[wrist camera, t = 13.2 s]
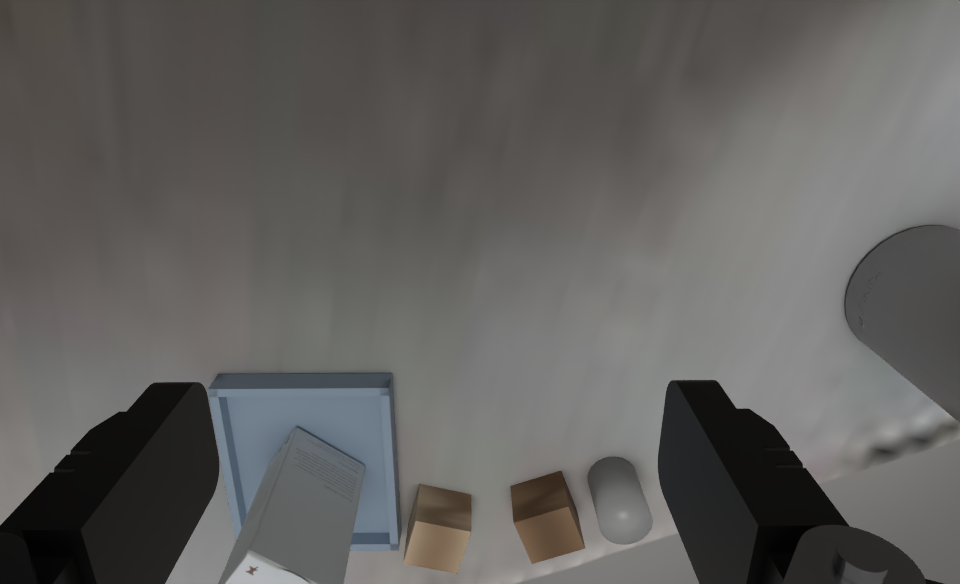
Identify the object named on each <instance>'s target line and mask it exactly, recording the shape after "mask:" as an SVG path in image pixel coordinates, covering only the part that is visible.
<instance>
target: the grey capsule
mask: <svg viewBox="0 0 960 584" xmlns="http://www.w3.org/2000/svg"><path fill="white" fill-rule="evenodd" d="M588 484H589V488H590V491H591V495H592V499H593V503H594V507H595V511H596V515H597V519H598V523H599V527H600V530H601V533H602V535H603V536H604V537H605V538H606V539H607V540H609V541H611V542H613V543H616V544H632V543H635V542H637V541H639V540H641V539H643V538H644V537H645V536H646V535H647V534H648V533H649V532H650V530H651V528H652V524H653V520H652V516H651V513H650V510H649V507H648V505H647V502H646V499H645V496H644V494H643V491H642V488H641V485H640V483H639V480H638V477H637V475H636V472H635V469H634V467H633V465H632V464H631V463H630V462H629V461H627V460H626V459H623V458H620V457H607V458H604V459H601V460H599V461H598V462H596V463H595V464H594V465H593V466H592V467H591V469H590V470H589V473H588Z"/></svg>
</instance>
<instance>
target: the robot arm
mask: <svg viewBox="0 0 960 584" xmlns="http://www.w3.org/2000/svg"><path fill="white" fill-rule="evenodd" d="M845 309H846V317H847V320H848V323H849V325H850V328H851V330H852V331H853V333H854V334H855V335H856V336H857V338H858V339H859V340H860V341H862V342H863V343H864V344H865V345H866V346H868V347H869V348H870V349H871V350H873V351H874V352H875V353H876V354H877V355H879V356H880V357H881V358H882V359H883V360H885V361H886V362H887V363H888V364H889V365H891V366H892V367H893V368H894V369H895V370H896V371H898V372H899V373H900V374H901V375H902V376H904V377H905V378H906V379H907V380H909V381H910V382H911V383H912V384H913V385H915V386H916V387H917V388H918V389H919V390H921V391H922V392H923V393H924V394H926V395H927V396H928V397H929V398H930V399H932V400H933V401H934V402H935V403H937V404H938V405H939V406H940V407H941V408H943V409H944V410H945V411H946V412H948V413H949V414H950V415H951V416H952V417H954V418H955V419H956V420H957V421H959V422H960V230H958V229H955V228H950V227H946V226H922V227H917V228H912V229H909V230H907V231H904V232H901V233H899V234H896V235H895V236H893V237H891V238H889V239H888V240H886V241H884V242H883V243H881V244H880V245H879V246H878V247H877V248H875V249H874V250H873V251H872V252H871V253H869V255H868V256H867V257H866V258H865V259H864V260H863V262H862V263H861V264H860V265H859V267H858V268H857V270H856V272H855V273H854V275H853V277H852V279H851V281H850V284H849V287H848V290H847V294H846V302H845ZM658 473H659V480H660V485H661V489H662V492H663V495H664V498H665V500H666V502H667V505H668V507H669V510H670V512H671V515H672V517H673V520H674V522H675V525H676V527H677V529H678V532H679V534H680V537H681V539H682V542H683V544H684V547H685V549H686V552H687V554H688V557H689V559H690V561H691V564H692V566H693V569H694V571H695V574H696V576H697V578H698V581H699V584H943V583H939V582H935V581H931V580H927V579H925V578H924V576H923V574H922V572H921V570H920V569H919V568H918V566H917V565H916V564H915V563H914V561H913V560H911V559H910V557H908V556H907V555H906V554H905V553H904V552H903V551H901V550H900V549H899V548H897V547H896V546H894V545H893V544H891V543H890V542H888V541H886V540H884V539H883V538H881V537H879V536H876V535H874V534H872V533H870V532H867V531H864V530H861V529H858V528H853V527H850V526H849V525H848V524H847V522H846V521H845V520H844V518H843V517H842V516H841V514H840V513H839V512H838V511H837V509H836V508H835V506H834V505H833V504H832V502H831V501H830V500H829V498H828V497H827V496H826V494H825V493H824V492H823V491H822V489H821V488H820V486H819V485H818V484H817V482H816V481H815V480H814V478H813V477H812V476H811V474H810V473H809V472H808V470H807V469H806V468H803V464H802V462H801V461H800V460H799V458H798V457H797V456H796V454H795V453H794V452H793V451H790V446H789V445H788V444H787V442H786V441H785V440H784V438H783V437H782V436H781V434H780V433H779V432H778V430H777V429H776V428H775V426H773V425H772V424H770V423H769V422H768V421H766V420H765V419H763V418H762V417H760V416H759V415H757V414H756V413H754V412H753V411H752V410H750V409H736V408H735V406H734V405H733V403H732V402H731V400H730V399H729V397H728V396H727V394H726V393H725V391H724V390H723V389H722V387H721V386H720V384H719V383H718V382H717V381H715V380H672V381H671V382H670V383H669V384H668V387H667V391H666V398H665V406H664V414H663V422H662V429H661V437H660V445H659V453H658ZM218 476H219V456H218V450H217V445H216V440H215V434H214V429H213V423H212V418H211V413H210V407H209V402H208V396H207V392H206V390H205V388H204V386H203V385H202V384H201V383H199V382H164V383H153V384H151V385H150V386H149V387H148V388H147V389H146V390H145V391H144V392H143V394H142V395H141V396H140V397H139V398H138V399H137V400H136V402H135V403H134V404H133V405H132V406H131V407H130V408H129V409H128V411H127V412H118V413H117V414H115V415H113V416H112V417H110V418H108V419H107V420H105V421H104V422H102V423H100V424H99V425H97V426H95V427H94V428H92V429H90V430H89V431H88V433H87V434H86V435H85V436H84V437H83V438H82V439H81V440H80V441H79V442H78V443H77V444H76V445H75V446H74V447H73V449H72V450H71V454H70V455H66V456H65V457H64V458H63V459H62V460H61V461H60V462H59V464H58V465H57V466H56V467H55V468H54V473H49V474H48V475H47V476H46V477H45V478H44V480H43V481H42V482H41V483H40V484H39V485H38V486H37V487H36V488H35V489H34V490H33V491H32V492H31V493H30V494H29V496H28V497H27V498H26V499H25V500H24V501H23V502H22V503H21V504H20V505H19V506H18V507H17V508H16V509H15V510H14V512H13V513H12V514H11V515H10V516H9V517H8V518H7V519H6V520H5V521H4V522H3V523H2V524H1V525H0V584H165V582H166V581H167V579H168V577H169V575H170V573H171V571H172V570H173V568H174V566H175V564H176V562H177V561H178V559H179V557H180V555H181V553H182V551H183V550H184V548H185V546H186V544H187V542H188V540H189V539H190V537H191V535H192V533H193V531H194V529H195V528H196V526H197V524H198V522H199V520H200V518H201V517H202V515H203V513H204V511H205V509H206V507H207V506H208V504H209V502H210V500H211V498H212V496H213V494H214V492H215V489H216V486H217V482H218Z"/></svg>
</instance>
